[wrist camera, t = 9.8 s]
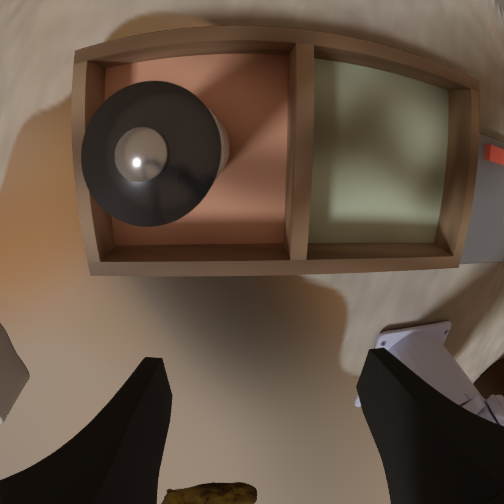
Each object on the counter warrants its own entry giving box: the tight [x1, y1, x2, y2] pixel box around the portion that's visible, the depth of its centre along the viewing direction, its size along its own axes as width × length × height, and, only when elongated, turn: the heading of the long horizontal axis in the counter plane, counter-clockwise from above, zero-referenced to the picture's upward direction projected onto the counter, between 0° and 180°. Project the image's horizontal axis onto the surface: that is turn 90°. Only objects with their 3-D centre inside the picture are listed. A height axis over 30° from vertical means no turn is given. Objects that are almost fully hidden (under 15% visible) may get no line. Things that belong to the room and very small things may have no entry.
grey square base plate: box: [460, 133, 504, 264], centre depth 16 cm, size 10×10×2 cm
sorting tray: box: [72, 26, 480, 276], centre depth 14 cm, size 12×22×4 cm, turn 89°
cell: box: [81, 81, 231, 227], centre depth 10 cm, size 4×4×8 cm
